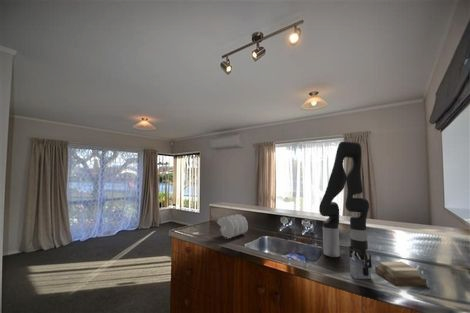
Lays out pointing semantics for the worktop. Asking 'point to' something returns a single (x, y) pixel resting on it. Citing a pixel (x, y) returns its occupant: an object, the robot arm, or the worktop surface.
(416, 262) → the worktop surface
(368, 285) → the worktop surface
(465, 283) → the worktop surface
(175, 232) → the worktop surface
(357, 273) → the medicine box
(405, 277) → the plinth
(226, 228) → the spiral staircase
